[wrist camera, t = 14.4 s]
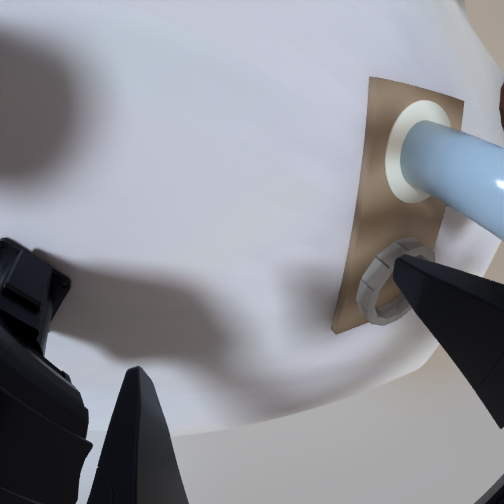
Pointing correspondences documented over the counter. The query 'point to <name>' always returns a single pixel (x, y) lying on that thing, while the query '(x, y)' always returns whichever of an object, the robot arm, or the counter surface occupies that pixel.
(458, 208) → the pale blue cylinder
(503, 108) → the muffin
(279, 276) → the counter surface
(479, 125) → the counter surface
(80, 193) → the counter surface
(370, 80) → the tan flat slab
